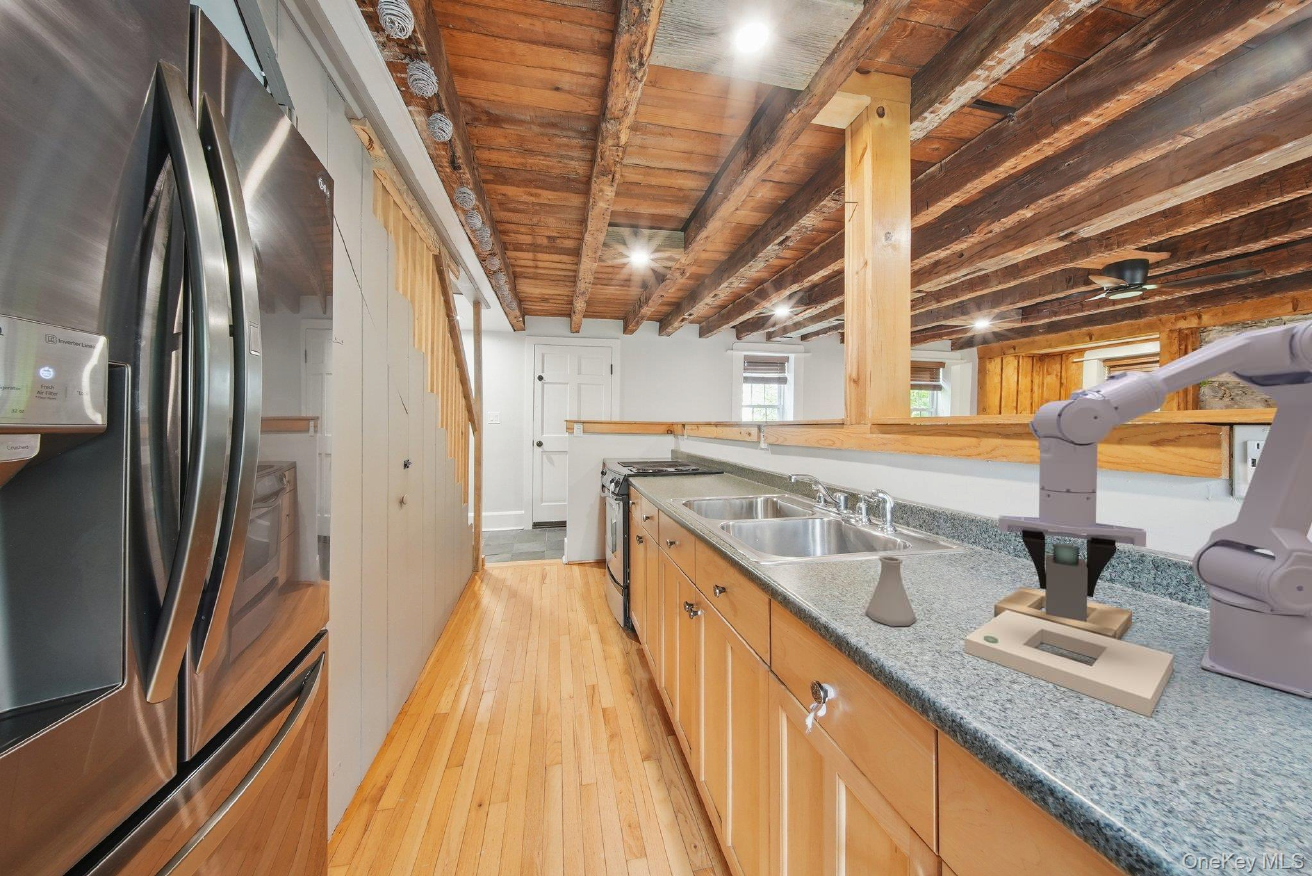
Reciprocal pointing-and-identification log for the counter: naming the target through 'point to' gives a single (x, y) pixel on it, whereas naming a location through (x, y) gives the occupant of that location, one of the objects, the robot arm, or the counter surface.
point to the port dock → (1113, 678)
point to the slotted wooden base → (1098, 618)
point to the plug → (1066, 583)
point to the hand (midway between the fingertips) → (1065, 590)
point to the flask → (890, 596)
